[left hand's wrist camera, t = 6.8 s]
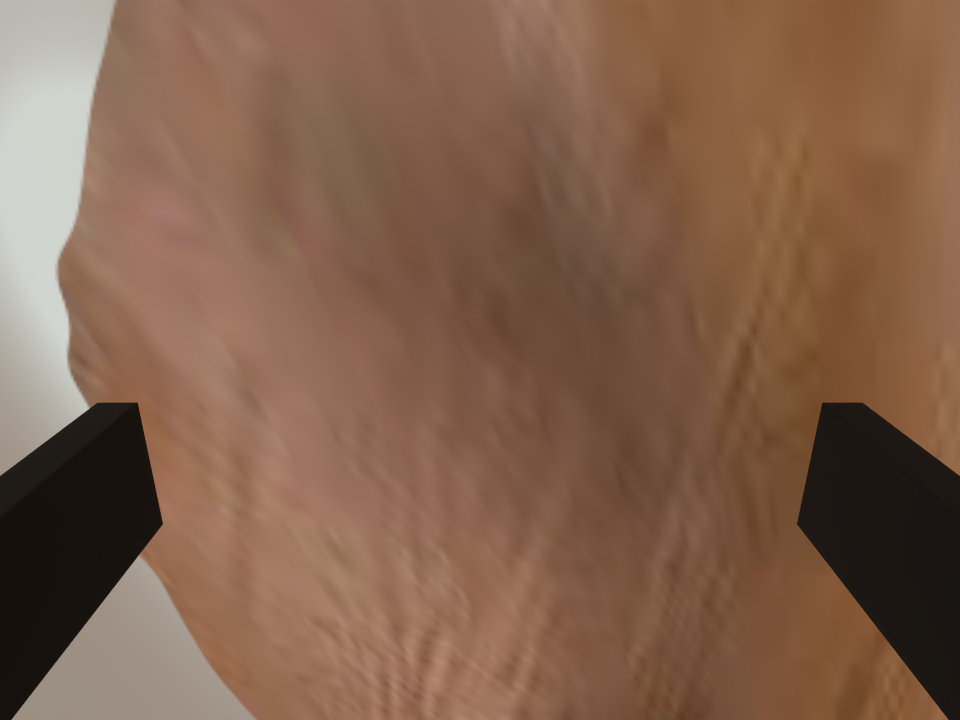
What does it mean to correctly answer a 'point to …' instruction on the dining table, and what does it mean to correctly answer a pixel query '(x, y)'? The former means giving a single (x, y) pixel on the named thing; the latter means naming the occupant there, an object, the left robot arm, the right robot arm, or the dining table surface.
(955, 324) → the dining table surface
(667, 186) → the dining table surface
